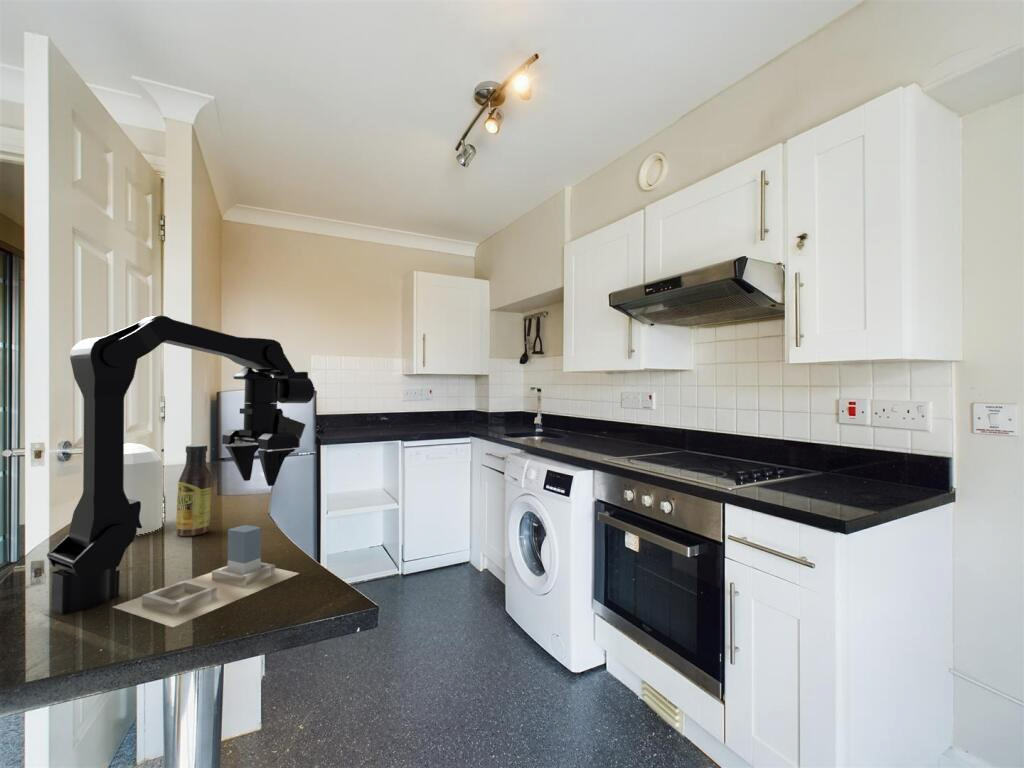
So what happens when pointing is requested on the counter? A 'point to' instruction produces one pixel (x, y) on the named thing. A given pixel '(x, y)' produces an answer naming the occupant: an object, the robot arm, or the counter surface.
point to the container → (144, 484)
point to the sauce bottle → (194, 493)
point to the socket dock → (202, 594)
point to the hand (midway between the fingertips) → (258, 483)
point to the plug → (244, 549)
